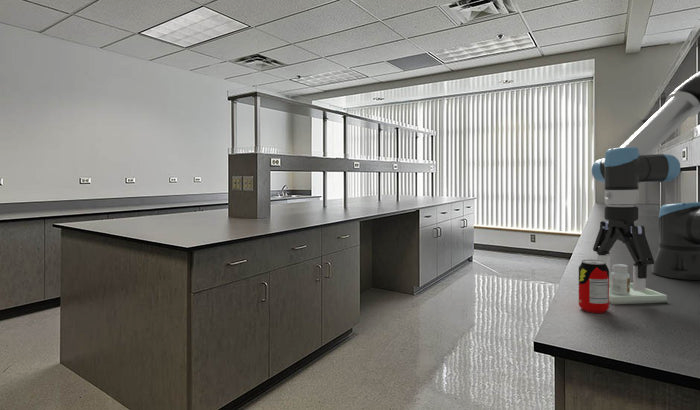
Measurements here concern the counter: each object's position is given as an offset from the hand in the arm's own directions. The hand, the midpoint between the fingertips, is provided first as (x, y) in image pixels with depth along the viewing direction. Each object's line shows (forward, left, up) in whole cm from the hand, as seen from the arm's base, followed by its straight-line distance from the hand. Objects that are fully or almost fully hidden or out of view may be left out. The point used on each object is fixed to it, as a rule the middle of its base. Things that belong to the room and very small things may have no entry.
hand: (620, 283), depth 108 cm
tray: (0, 0, -3) cm, 3 cm away
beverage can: (+14, +11, -3) cm, 18 cm away
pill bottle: (0, 0, -3) cm, 3 cm away
